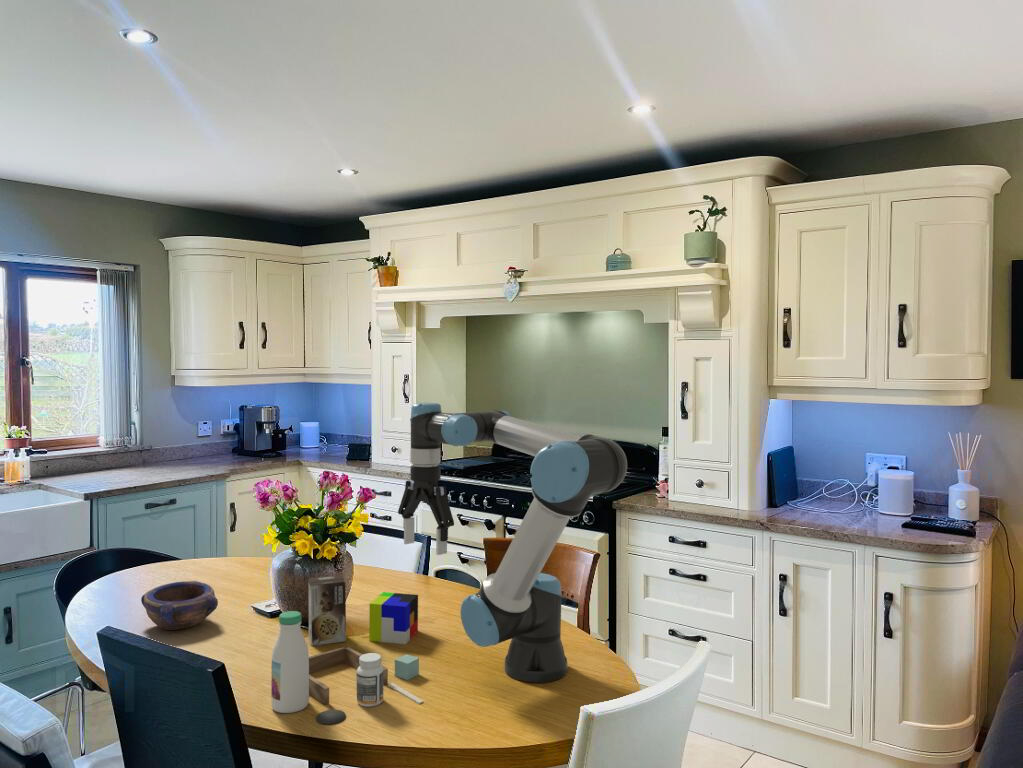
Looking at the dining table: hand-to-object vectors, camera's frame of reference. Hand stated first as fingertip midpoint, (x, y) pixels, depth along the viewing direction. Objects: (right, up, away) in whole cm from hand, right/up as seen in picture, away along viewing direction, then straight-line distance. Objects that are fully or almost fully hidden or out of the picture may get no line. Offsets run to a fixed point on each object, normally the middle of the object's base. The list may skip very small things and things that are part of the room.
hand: (424, 548), depth 193 cm
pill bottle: (-9, -28, -26) cm, 39 cm away
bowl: (-70, -25, +19) cm, 76 cm away
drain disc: (-16, -28, -34) cm, 46 cm away
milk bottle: (-26, -28, -29) cm, 47 cm away
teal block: (-3, -27, -12) cm, 30 cm away
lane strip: (-2, -28, -22) cm, 35 cm away
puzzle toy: (-10, -26, +13) cm, 31 cm away
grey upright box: (-27, -26, +9) cm, 39 cm away
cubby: (-19, -27, -16) cm, 37 cm away
